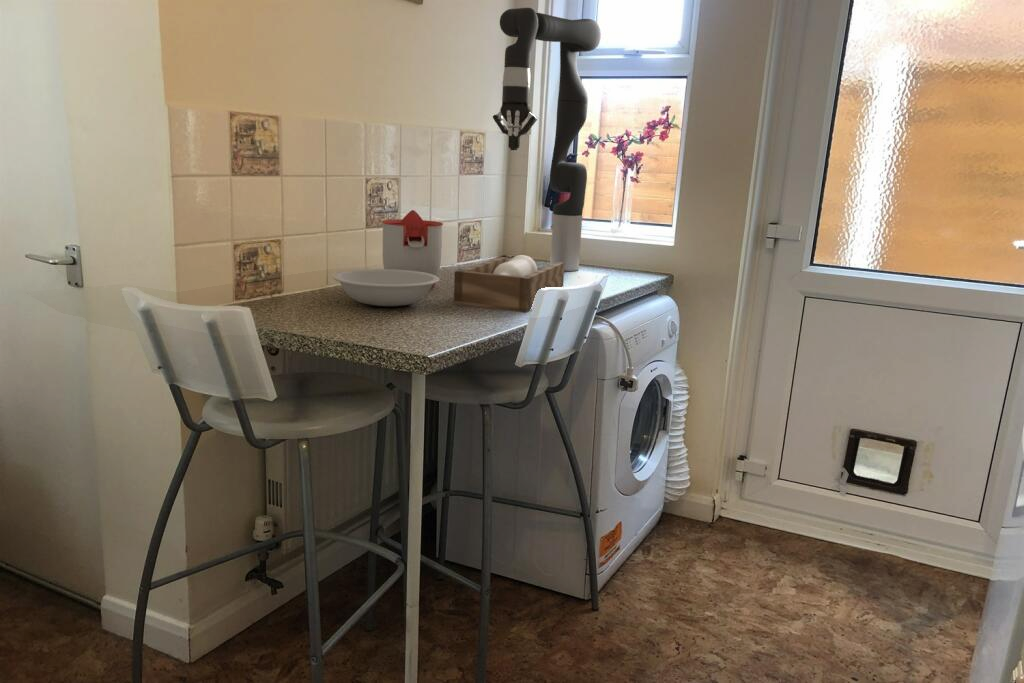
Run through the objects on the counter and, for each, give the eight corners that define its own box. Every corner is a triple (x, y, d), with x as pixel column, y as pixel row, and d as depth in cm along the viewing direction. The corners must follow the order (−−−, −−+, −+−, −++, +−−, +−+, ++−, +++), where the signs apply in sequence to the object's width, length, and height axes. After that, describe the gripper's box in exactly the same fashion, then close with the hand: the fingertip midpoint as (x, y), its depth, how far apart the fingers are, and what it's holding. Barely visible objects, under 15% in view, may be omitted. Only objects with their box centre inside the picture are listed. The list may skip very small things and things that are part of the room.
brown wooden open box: (498, 285, 218) (500, 257, 217) (562, 292, 213) (564, 262, 211) (453, 304, 189) (454, 271, 187) (526, 312, 183) (528, 278, 182)
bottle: (522, 247, 216) (492, 261, 188) (544, 268, 216) (518, 284, 188) (503, 270, 219) (471, 286, 190) (525, 289, 219) (496, 309, 190)
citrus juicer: (383, 293, 198) (384, 212, 193) (378, 282, 214) (379, 206, 210) (446, 294, 202) (449, 214, 197) (437, 282, 218) (439, 208, 214)
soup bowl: (460, 308, 184) (461, 280, 183) (372, 319, 168) (373, 288, 166) (397, 292, 201) (397, 266, 199) (312, 301, 184) (312, 273, 183)
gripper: (543, 87, 223) (539, 151, 227) (498, 86, 227) (495, 149, 231) (535, 85, 216) (532, 151, 220) (489, 84, 220) (487, 149, 224)
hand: (513, 150), depth 225 cm, fingers closed
